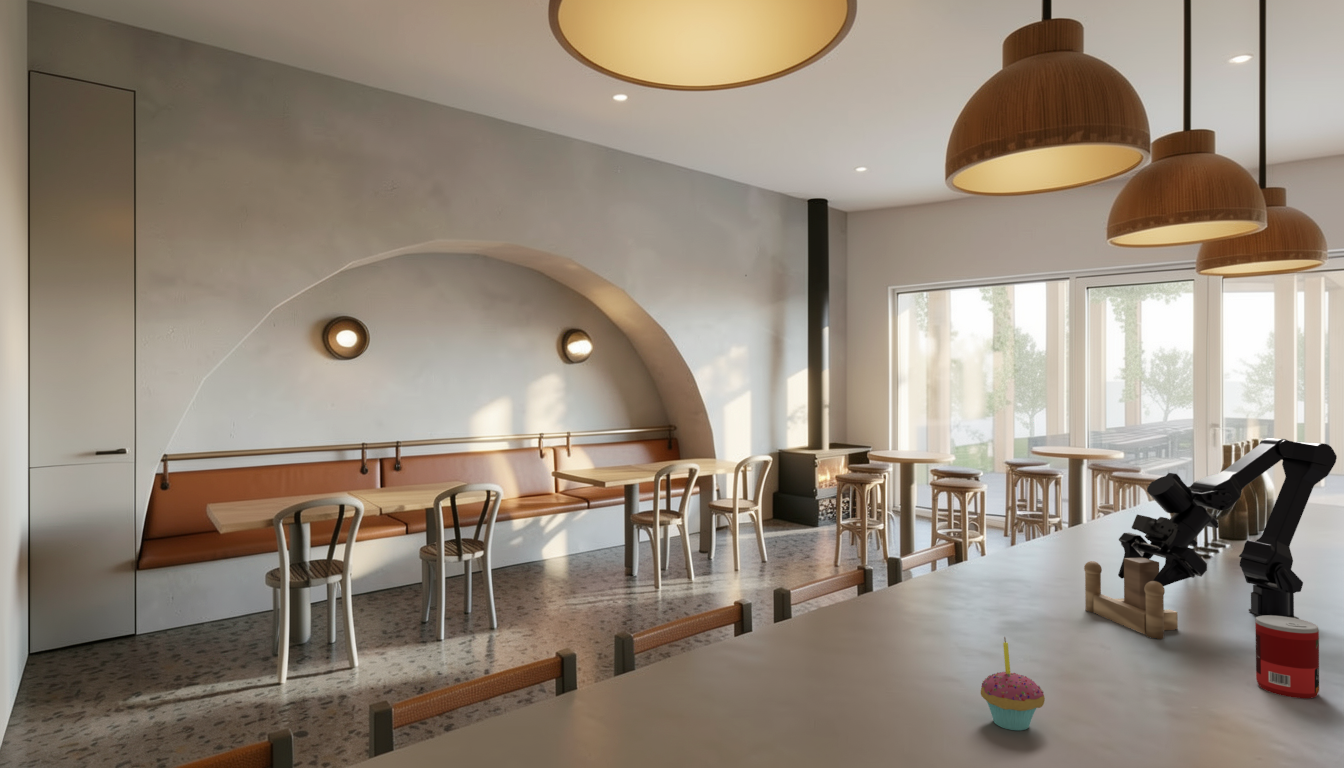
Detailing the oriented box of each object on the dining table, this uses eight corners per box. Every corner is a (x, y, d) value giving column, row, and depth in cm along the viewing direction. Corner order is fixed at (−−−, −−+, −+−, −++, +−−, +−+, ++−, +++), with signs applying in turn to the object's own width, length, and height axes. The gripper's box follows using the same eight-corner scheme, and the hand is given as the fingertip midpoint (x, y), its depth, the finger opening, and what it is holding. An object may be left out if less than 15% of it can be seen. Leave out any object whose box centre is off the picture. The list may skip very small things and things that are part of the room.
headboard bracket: (1120, 607, 171) (1120, 558, 171) (1198, 637, 150) (1197, 582, 150) (1081, 608, 170) (1080, 559, 170) (1153, 639, 149) (1153, 583, 149)
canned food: (1330, 701, 119) (1330, 630, 119) (1272, 697, 121) (1271, 627, 121) (1301, 683, 127) (1300, 616, 127) (1246, 679, 128) (1245, 613, 128)
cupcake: (970, 712, 115) (969, 632, 115) (1024, 710, 116) (1023, 631, 116) (999, 738, 107) (998, 652, 107) (1057, 735, 107) (1056, 650, 108)
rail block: (1143, 618, 163) (1143, 557, 163) (1160, 625, 158) (1160, 562, 158) (1123, 619, 162) (1123, 558, 162) (1139, 626, 158) (1139, 562, 158)
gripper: (1126, 496, 170) (1080, 547, 169) (1193, 508, 152) (1143, 566, 150) (1158, 530, 171) (1113, 581, 170) (1229, 547, 153) (1180, 604, 151)
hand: (1135, 582), depth 160 cm, fingers open, 9 cm apart
